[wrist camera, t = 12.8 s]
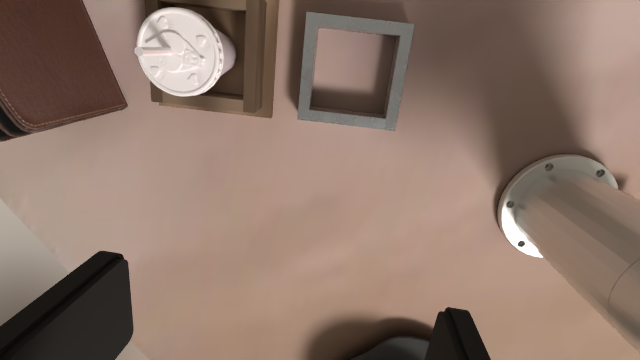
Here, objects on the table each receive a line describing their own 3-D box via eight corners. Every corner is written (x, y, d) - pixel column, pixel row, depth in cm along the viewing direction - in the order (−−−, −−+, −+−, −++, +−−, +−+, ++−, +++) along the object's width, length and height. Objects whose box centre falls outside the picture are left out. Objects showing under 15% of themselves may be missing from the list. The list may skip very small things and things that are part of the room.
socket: (279, -7, 34) (271, -15, 29) (272, 116, 38) (264, 124, 34) (157, -21, 34) (131, -31, 30) (163, 103, 38) (142, 110, 34)
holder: (409, 25, 34) (414, 24, 32) (391, 125, 38) (394, 130, 35) (308, 14, 34) (306, 11, 32) (299, 115, 38) (297, 119, 35)
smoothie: (194, 8, 34) (102, -19, 20) (257, 30, 34) (207, 18, 21) (182, 73, 36) (93, 87, 23) (242, 94, 36) (188, 119, 23)
